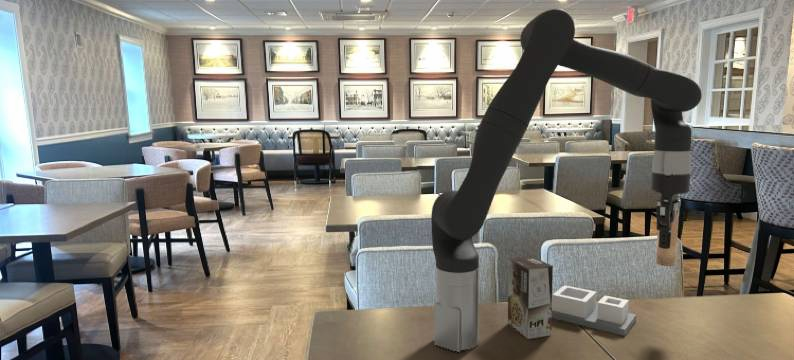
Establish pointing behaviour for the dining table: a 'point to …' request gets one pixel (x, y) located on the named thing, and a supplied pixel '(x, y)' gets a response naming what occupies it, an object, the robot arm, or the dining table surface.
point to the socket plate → (592, 310)
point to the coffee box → (530, 296)
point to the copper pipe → (669, 255)
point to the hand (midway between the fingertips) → (666, 245)
